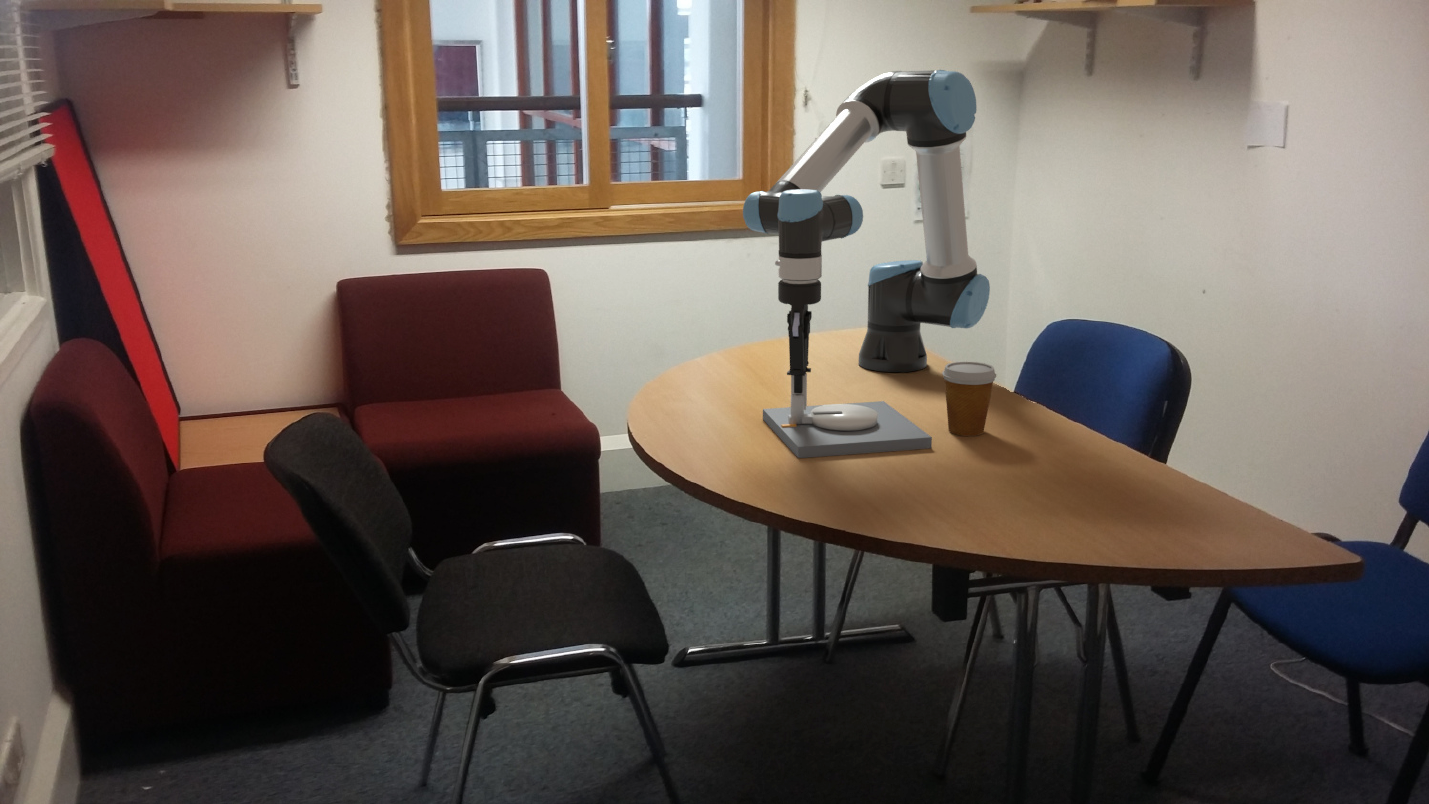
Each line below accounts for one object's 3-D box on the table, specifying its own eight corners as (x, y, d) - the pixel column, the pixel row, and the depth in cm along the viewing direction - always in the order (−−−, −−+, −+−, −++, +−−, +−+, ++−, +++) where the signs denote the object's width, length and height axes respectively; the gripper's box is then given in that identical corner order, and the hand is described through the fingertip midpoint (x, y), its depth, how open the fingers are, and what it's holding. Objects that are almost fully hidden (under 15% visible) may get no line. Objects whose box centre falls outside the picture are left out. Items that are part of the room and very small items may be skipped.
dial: (869, 410, 216) (870, 384, 215) (883, 429, 205) (884, 402, 203) (784, 413, 215) (784, 387, 214) (793, 432, 203) (794, 404, 202)
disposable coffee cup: (993, 440, 206) (997, 374, 203) (938, 437, 208) (942, 372, 204) (992, 425, 215) (996, 362, 212) (939, 422, 217) (942, 359, 213)
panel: (883, 411, 224) (883, 399, 224) (931, 448, 202) (931, 435, 201) (762, 419, 219) (762, 407, 219) (798, 458, 197) (798, 445, 196)
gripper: (783, 272, 210) (782, 398, 217) (773, 286, 198) (773, 418, 205) (824, 273, 209) (823, 399, 216) (817, 286, 197) (815, 419, 204)
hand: (798, 408), depth 210 cm, fingers closed
